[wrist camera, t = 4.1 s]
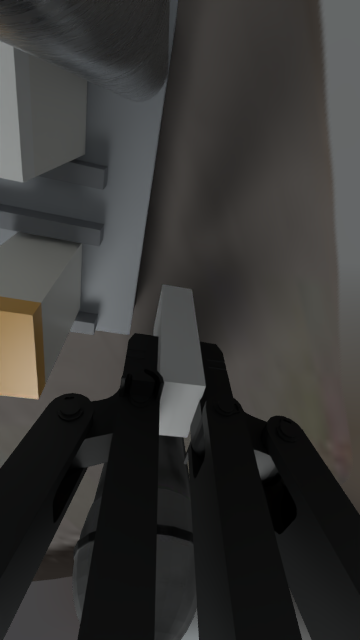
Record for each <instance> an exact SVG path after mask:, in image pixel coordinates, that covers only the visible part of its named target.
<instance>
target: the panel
mask: <svg viewBox="0 0 360 640" xmlns="http://www.w3.org/2000/svg"><path fill="white" fill-rule="evenodd" d="M177 8H178V0H170V16H169V57H168V73H167V78H166V81H165V83H164V85H163V87H162V89H161V90H160V92H159V93H158V94H157V95H156V96H155V97H153V98H152V99H150V100H147V101H144V102H135V101H131V100H129V99H126V98H124V97H122V96H120V95H118V94H115V93H113V92H111V91H109V90H107V89H104V88H102V87H100V86H98V85H96V84H93V83H91V82H89V81H87V110H86V142H85V155H83V156H80V157H78V158H76V159H74V160H72V161H69V162H67V163H65V164H63V165H61V166H58V167H56V168H54V169H52V170H50V171H47V172H45V173H43V174H41V175H39V176H36V177H34V178H32V179H30V180H28V181H25V182H18V181H13V180H8V179H3V178H0V246H1V245H2V244H3V243H4V242H6V241H7V240H8V239H10V238H11V237H12V236H14V235H15V234H16V233H17V232H23V233H29V234H34V235H39V236H45V237H50V238H56V239H61V240H67V241H72V242H77V243H82V267H81V298H80V310H79V312H78V314H77V316H76V318H75V321H74V323H73V325H72V327H71V329H70V332H77V333H84V334H91V335H94V332H95V330H99V331H106V332H113V333H120V334H127V335H129V333H130V328H131V322H132V316H133V310H134V304H135V297H136V290H137V284H138V277H139V270H140V263H141V256H142V250H143V243H144V236H145V229H146V223H147V216H148V209H149V202H150V196H151V189H152V182H153V175H154V169H155V162H156V155H157V148H158V142H159V135H160V128H161V121H162V114H163V108H164V101H165V94H166V87H167V81H168V74H169V67H170V60H171V54H172V47H173V40H174V33H175V27H176V18H177Z"/></svg>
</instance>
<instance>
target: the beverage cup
mask: <svg viewBox="0 0 360 640" xmlns="http://www.w3.org/2000/svg"><path fill="white" fill-rule="evenodd" d="M185 455H186V452H185V445H184V438H183V437H176V436H166V435H159V461H158V505H157V550H156V594H155V639H154V640H181V639H182V637H183V636H184V634H185V633H186V631H187V630H188V628H189V626H190V624H191V622H192V620H193V618H194V615H195V612H196V609H197V596H196V579H195V562H194V545H193V528H192V511H191V494H190V479H189V473H188V466H187V464H183V463H184V458H185ZM107 463H108V462H106V463H104V466H103V469H102V473H101V477H100V481H99V484H98V488H97V492H96V495H95V499H94V503H93V504H92V506H91V508H90V510H89V513H88V516H87V518H86V521H85V524H84V526H83V529H82V531H81V535H80V539H79V541H78V542H77V544H76V546H75V548H74V560H75V561H74V568H73V586H72V588H73V598H74V605H75V609H76V613H77V617H78V619H79V622H80V623H81V617H82V611H83V605H84V599H85V593H86V587H87V581H88V575H89V570H90V564H91V558H92V552H93V546H94V540H95V534H96V528H97V522H98V516H99V511H100V505H101V499H102V493H103V487H104V481H105V475H106V469H107Z"/></svg>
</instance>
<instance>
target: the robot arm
mask: <svg viewBox="0 0 360 640" xmlns="http://www.w3.org/2000/svg"><path fill="white" fill-rule="evenodd" d="M224 362H225V361H224V357H223V353H222V351H221V350H220V349H219V347H218V346H217V345H216V344H211V343H204V342H199V335H198V328H197V321H196V314H195V307H194V300H193V293H192V289H188V288H182V287H176V286H170V285H165V284H162V289H161V294H160V299H159V304H158V309H157V314H156V319H155V324H154V331H153V336H151V335H144V334H137V333H135V334H134V335H133V336H132V337H131V338H130V339H129V342H128V348H127V354H126V360H125V366H124V371H123V376H122V378H121V385H120V389H119V390H118V391H117V393H115V394H114V395H113V396H111V397H109V398H107V399H103V400H99V401H92V402H91V401H90V400H89V399H88V398H87V397H85V396H83V395H81V394H75V393H70V394H64V395H61V396H59V397H57V398H55V399H54V400H53V401H52V402H51V403H50V404H49V405H48V406H47V408H46V409H45V410H44V412H43V413H42V414H41V416H40V417H39V418H38V419H37V421H36V422H35V423H34V425H33V426H32V427H31V429H30V430H29V431H28V433H27V434H26V435H25V437H24V438H23V439H22V441H21V442H20V443H19V445H18V446H17V447H16V449H15V450H14V451H13V453H12V454H11V455H10V457H9V458H8V459H7V461H6V462H5V463H4V465H3V466H2V467H1V468H0V640H3V639H4V637H5V635H6V633H7V630H8V628H9V627H10V624H11V622H12V620H13V618H14V616H15V614H16V612H17V610H18V608H19V606H20V604H21V602H22V600H23V598H24V596H25V594H26V592H27V590H28V588H29V586H30V584H31V582H32V580H33V578H34V576H35V574H36V572H37V570H38V568H39V566H40V564H41V561H42V559H43V557H44V555H45V553H46V551H47V549H48V547H49V545H50V543H51V541H52V539H53V537H54V535H55V533H56V531H57V529H58V527H59V525H60V523H61V521H62V519H63V517H64V515H65V513H66V511H67V509H68V507H69V505H70V503H71V501H72V499H73V496H74V494H75V492H76V490H77V488H78V486H79V484H80V482H81V480H82V478H83V476H84V474H85V472H86V470H87V468H88V467H89V466H93V465H97V464H101V463H106V462H108V463H107V469H106V475H105V481H104V487H103V493H102V499H101V505H100V511H99V516H98V522H97V528H96V534H95V540H94V546H93V552H92V558H91V564H90V570H89V575H88V581H87V587H86V593H85V599H84V605H83V611H82V617H81V623H80V629H79V635H78V640H154V639H155V594H156V550H157V505H158V461H159V435H166V436H176V437H186V438H187V437H188V434H189V431H191V442H190V445H189V447H188V450H187V452H186V455H185V458H184V463H183V464H187V461H188V460H189V477H190V494H191V511H192V528H193V545H194V562H195V579H196V596H197V612H198V628H199V640H302V638H301V634H300V630H299V626H298V622H297V618H296V614H295V610H294V606H293V602H292V599H291V594H290V591H289V588H290V590H291V592H292V595H293V597H294V599H295V602H296V604H297V606H298V609H299V611H300V613H301V616H302V618H303V620H304V623H305V625H306V627H307V629H308V632H309V634H310V637H311V639H312V640H360V515H359V513H358V512H357V510H356V509H355V507H354V506H353V504H352V503H351V501H350V500H349V498H348V497H347V495H346V494H345V492H344V491H343V489H342V488H341V486H340V485H339V483H338V482H337V480H336V479H335V477H334V476H333V474H332V473H331V472H330V470H329V469H328V467H327V466H326V464H325V463H324V461H323V460H322V458H321V457H320V455H319V454H318V452H317V451H316V449H315V448H314V446H313V445H312V443H311V442H310V440H309V439H308V437H307V436H306V434H305V433H304V431H303V430H302V429H301V428H300V427H299V425H298V424H297V423H295V422H294V421H292V420H291V419H289V418H286V417H284V416H274V417H271V418H270V419H269V420H268V421H267V422H266V421H263V420H261V419H258V418H255V417H253V416H251V415H249V414H247V413H245V412H244V411H243V409H242V407H241V405H240V403H239V402H238V401H237V400H236V399H234V398H233V395H232V391H231V387H230V382H229V378H228V374H227V370H226V365H225V363H224ZM288 585H289V587H288Z"/></svg>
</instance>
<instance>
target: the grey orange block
mask: <svg viewBox="0 0 360 640" xmlns="http://www.w3.org/2000/svg"><path fill="white" fill-rule="evenodd" d="M81 267H82V243H77V242H72V241H67V240H61V239H56V238H50V237H45V236H39V235H34V234H29V233H23V232H17V233H16V234H15V235H14V236H12V237H11V238H10V239H8V240H7V241H6V242H4V243H3V244H2V245H1V246H0V395H3V396H12V397H21V398H30V399H39V398H40V395H41V393H42V391H43V389H44V387H45V384H46V382H47V380H48V378H49V376H50V373H51V371H52V369H53V367H54V365H55V362H56V360H57V358H58V356H59V354H60V351H61V349H62V347H63V345H64V343H65V340H66V338H67V336H68V334H69V332H70V329H71V327H72V325H73V323H74V321H75V318H76V316H77V314H78V312H79V310H80V298H81Z"/></svg>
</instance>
